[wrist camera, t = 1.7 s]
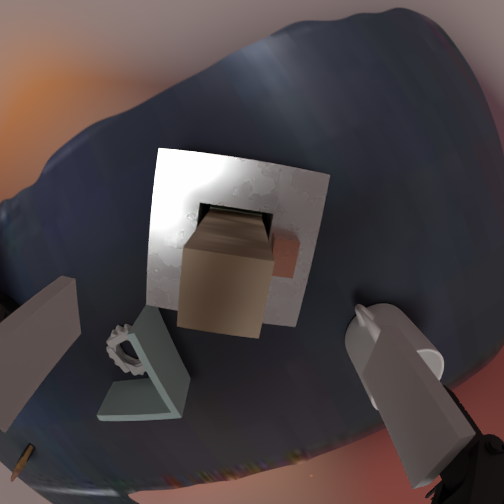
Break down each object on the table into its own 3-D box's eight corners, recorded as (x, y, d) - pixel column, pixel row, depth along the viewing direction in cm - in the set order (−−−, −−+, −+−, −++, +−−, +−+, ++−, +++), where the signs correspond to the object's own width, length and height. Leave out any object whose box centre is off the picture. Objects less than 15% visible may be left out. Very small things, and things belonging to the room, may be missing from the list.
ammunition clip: (29, 442, 44) (11, 474, 33) (35, 447, 45) (18, 479, 33) (23, 451, 46) (7, 479, 35) (28, 455, 47) (13, 484, 35)
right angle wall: (155, 298, 33) (134, 333, 26) (190, 377, 36) (181, 417, 29) (78, 316, 34) (50, 346, 26) (117, 385, 37) (100, 420, 30)
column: (207, 246, 31) (175, 327, 16) (214, 201, 29) (181, 245, 14) (252, 253, 31) (260, 340, 16) (260, 208, 30) (277, 260, 15)
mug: (375, 266, 32) (422, 309, 22) (411, 330, 35) (451, 378, 25) (315, 311, 33) (341, 369, 23) (360, 368, 36) (388, 423, 26)
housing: (162, 280, 32) (139, 315, 24) (175, 150, 28) (151, 147, 20) (287, 299, 33) (298, 338, 25) (313, 172, 29) (337, 176, 21)
